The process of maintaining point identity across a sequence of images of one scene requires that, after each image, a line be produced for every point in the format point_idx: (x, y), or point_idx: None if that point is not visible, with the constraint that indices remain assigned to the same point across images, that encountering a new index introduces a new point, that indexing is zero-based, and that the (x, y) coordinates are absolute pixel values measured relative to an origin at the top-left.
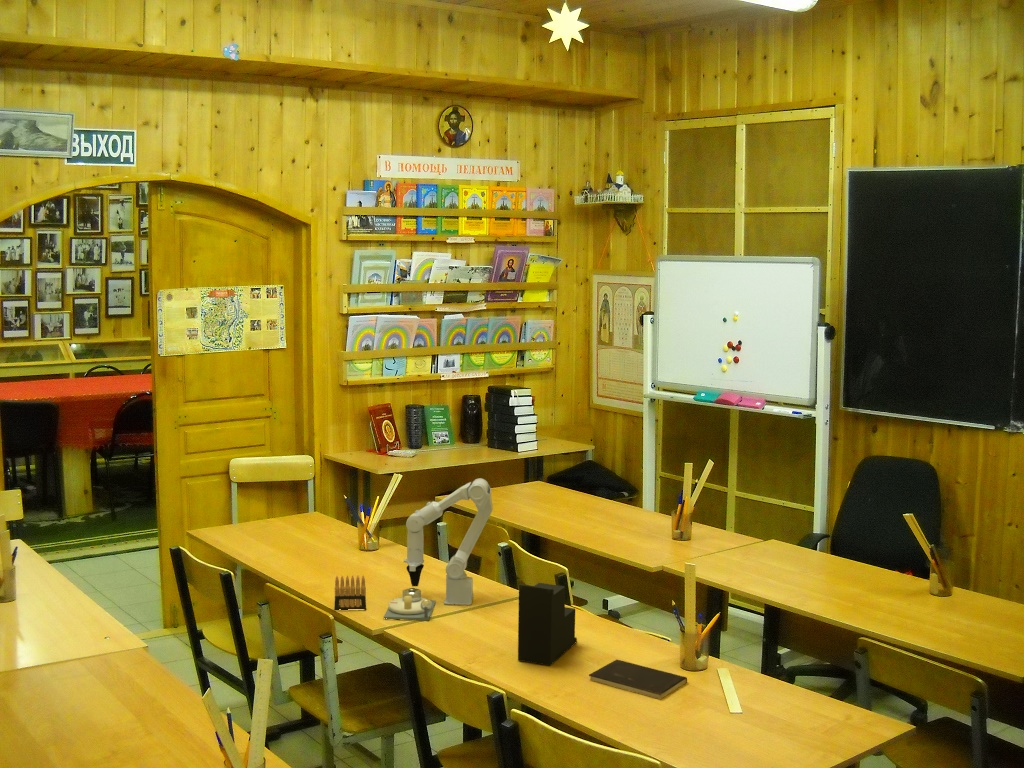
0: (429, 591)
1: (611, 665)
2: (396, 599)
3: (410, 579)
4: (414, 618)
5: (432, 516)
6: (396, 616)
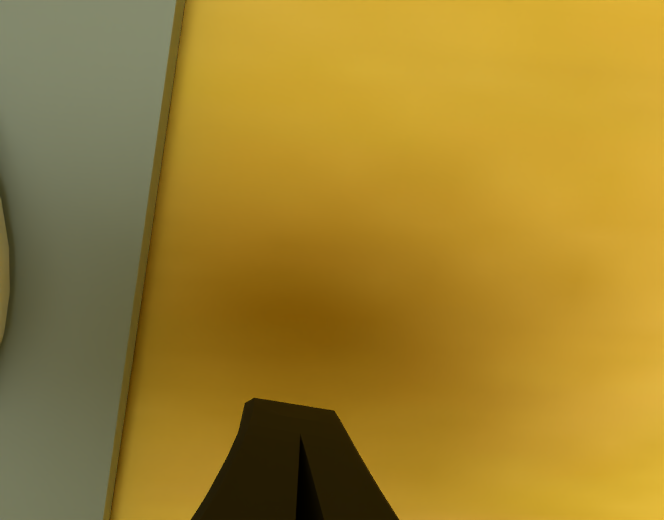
0: (620, 495)
1: None
2: None
3: (218, 495)
4: None
5: None
6: None
